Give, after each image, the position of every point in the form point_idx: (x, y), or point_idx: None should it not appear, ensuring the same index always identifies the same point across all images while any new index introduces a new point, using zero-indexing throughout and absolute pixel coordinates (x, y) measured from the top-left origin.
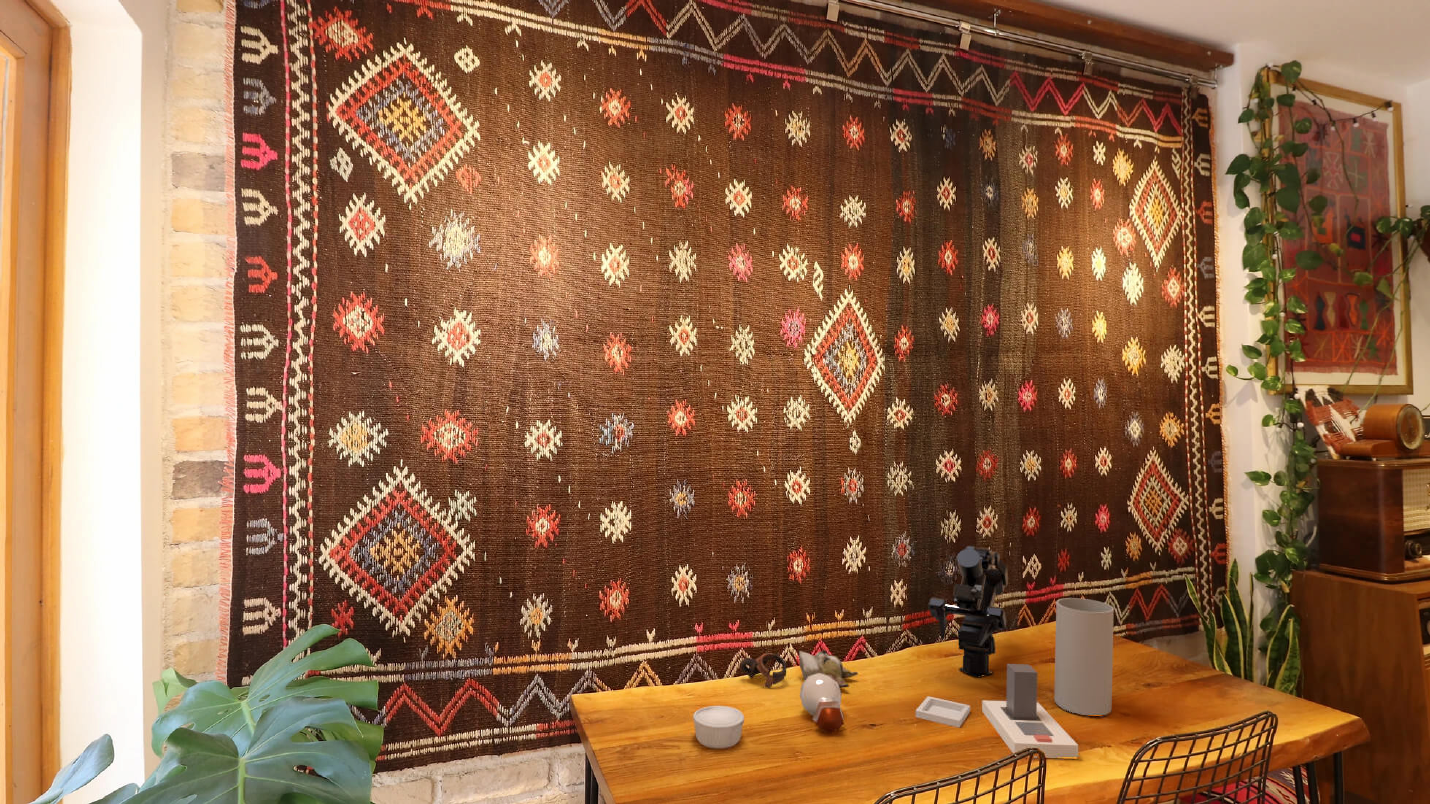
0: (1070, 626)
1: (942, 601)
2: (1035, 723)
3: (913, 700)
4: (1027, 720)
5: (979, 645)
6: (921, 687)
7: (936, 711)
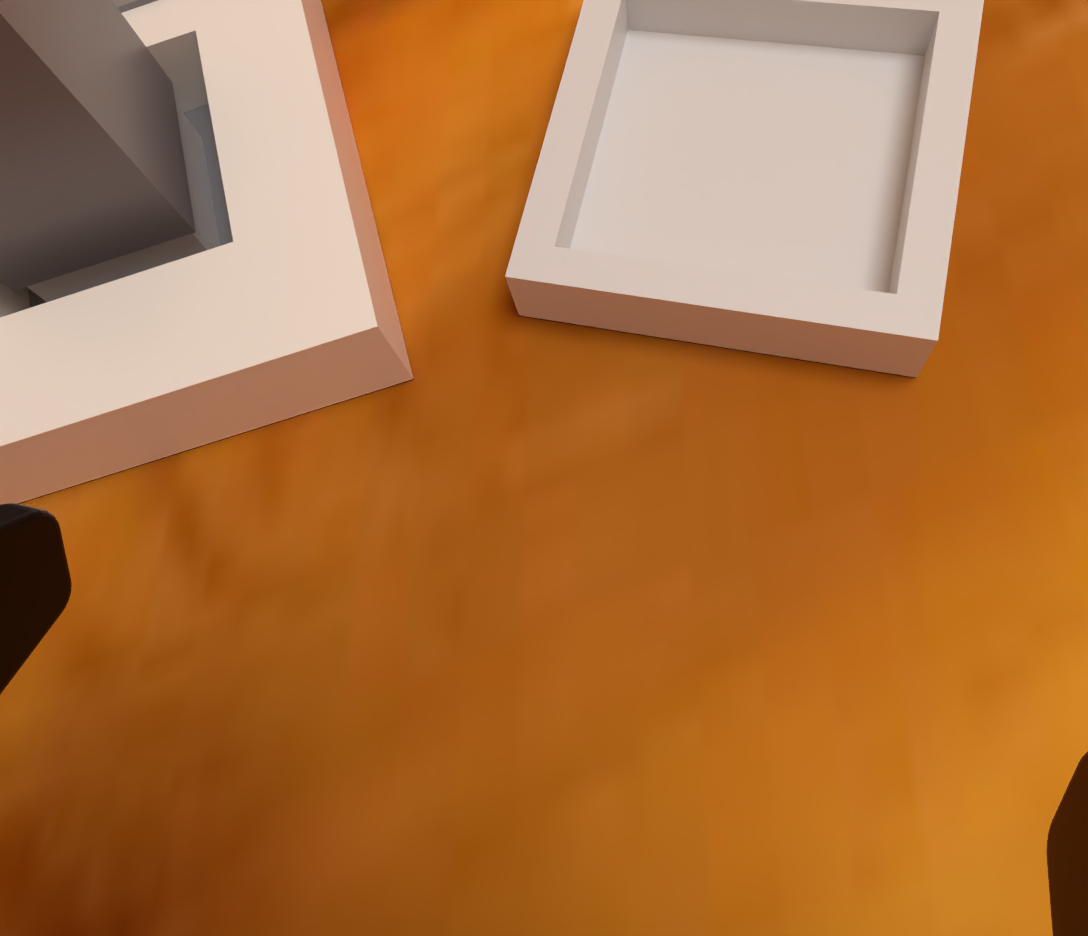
0: None
1: None
2: None
3: (1079, 420)
4: None
5: (48, 543)
6: None
7: (808, 199)
